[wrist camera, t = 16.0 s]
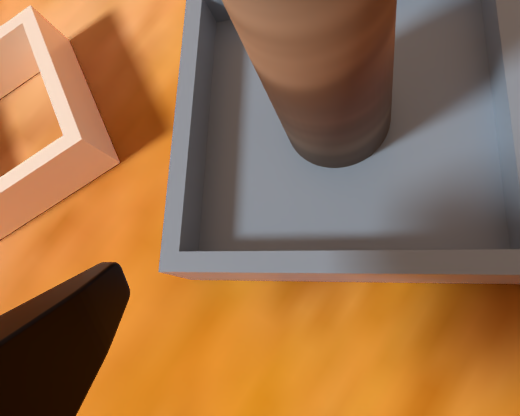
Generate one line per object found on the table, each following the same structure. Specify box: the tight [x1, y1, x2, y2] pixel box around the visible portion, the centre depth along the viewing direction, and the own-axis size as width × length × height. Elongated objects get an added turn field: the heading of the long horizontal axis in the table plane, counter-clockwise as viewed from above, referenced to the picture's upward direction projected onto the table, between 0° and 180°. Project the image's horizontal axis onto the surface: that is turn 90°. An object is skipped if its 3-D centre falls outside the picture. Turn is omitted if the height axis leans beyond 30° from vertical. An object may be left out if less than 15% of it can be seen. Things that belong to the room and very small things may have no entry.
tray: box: [159, 0, 520, 284], centre depth 18 cm, size 14×14×3 cm
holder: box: [0, 5, 120, 240], centre depth 23 cm, size 10×10×3 cm
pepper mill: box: [222, 0, 397, 168], centre depth 12 cm, size 4×4×12 cm
